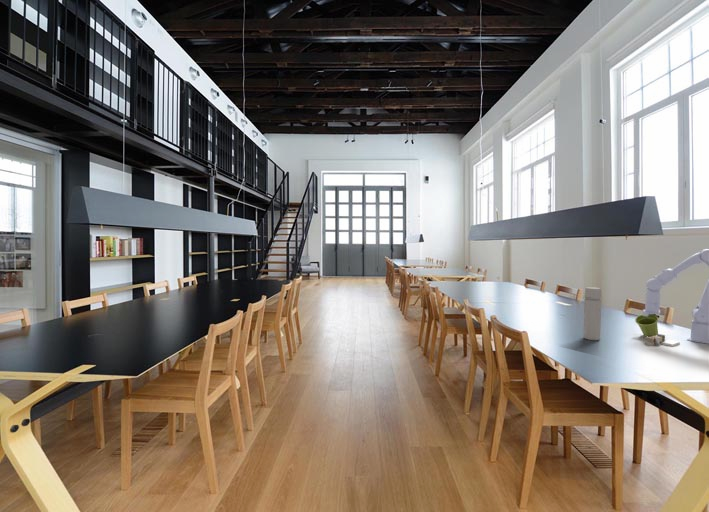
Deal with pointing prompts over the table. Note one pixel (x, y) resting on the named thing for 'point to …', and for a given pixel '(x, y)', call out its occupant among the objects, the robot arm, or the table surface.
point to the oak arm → (652, 339)
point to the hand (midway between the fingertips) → (650, 328)
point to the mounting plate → (670, 343)
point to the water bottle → (592, 313)
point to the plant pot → (648, 324)
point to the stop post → (657, 341)
